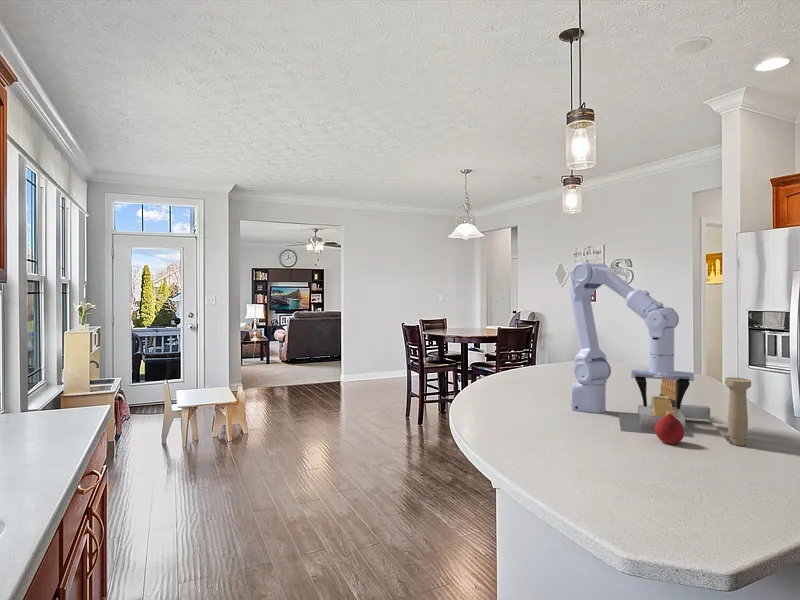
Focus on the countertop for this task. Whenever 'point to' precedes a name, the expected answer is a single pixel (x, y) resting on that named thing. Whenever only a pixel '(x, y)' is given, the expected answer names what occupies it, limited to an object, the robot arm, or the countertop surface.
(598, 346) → the robot arm
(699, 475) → the countertop surface
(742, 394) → the handle
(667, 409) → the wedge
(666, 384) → the ammunition clip
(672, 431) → the onion
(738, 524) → the countertop surface
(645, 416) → the grey stepped platform
